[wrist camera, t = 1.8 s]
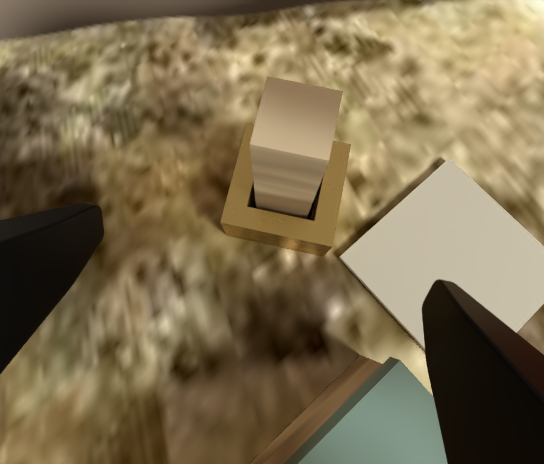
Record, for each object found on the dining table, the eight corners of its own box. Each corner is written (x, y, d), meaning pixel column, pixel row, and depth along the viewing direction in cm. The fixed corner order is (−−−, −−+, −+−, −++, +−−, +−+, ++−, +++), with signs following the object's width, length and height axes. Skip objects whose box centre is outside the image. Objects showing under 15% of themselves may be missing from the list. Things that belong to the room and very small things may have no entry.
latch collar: (323, 256, 21) (332, 246, 19) (226, 235, 22) (220, 222, 19) (340, 166, 23) (350, 144, 20) (249, 147, 23) (246, 123, 20)
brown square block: (303, 226, 22) (329, 160, 13) (257, 216, 22) (249, 144, 13) (312, 183, 23) (342, 91, 13) (267, 174, 23) (267, 76, 14)
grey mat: (459, 388, 20) (463, 389, 19) (338, 257, 21) (339, 256, 21) (566, 273, 21) (572, 272, 21) (446, 160, 23) (449, 158, 23)
